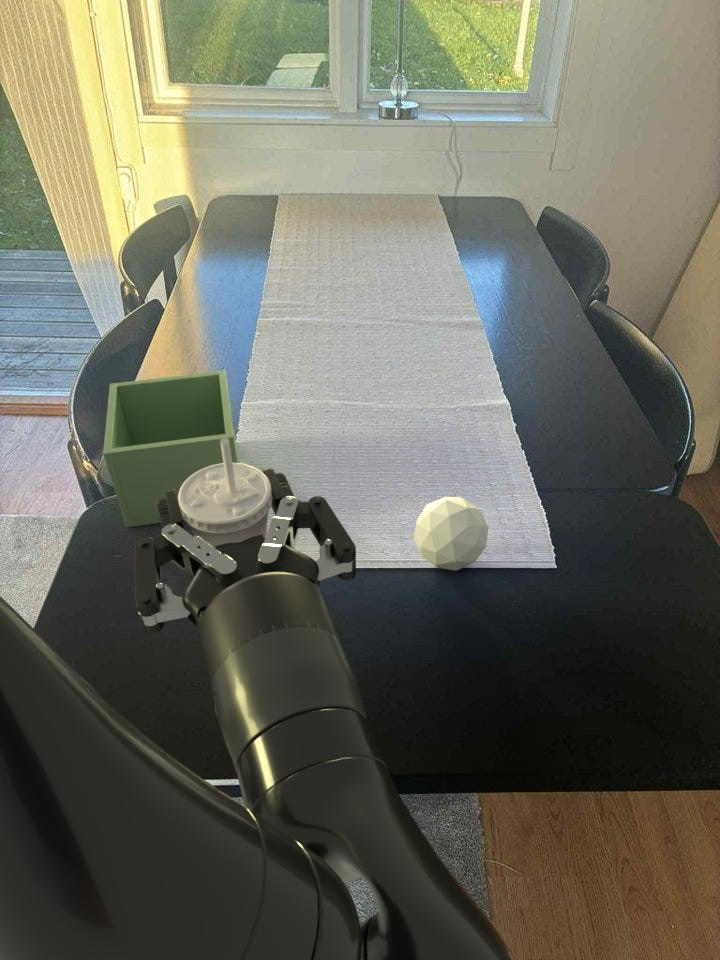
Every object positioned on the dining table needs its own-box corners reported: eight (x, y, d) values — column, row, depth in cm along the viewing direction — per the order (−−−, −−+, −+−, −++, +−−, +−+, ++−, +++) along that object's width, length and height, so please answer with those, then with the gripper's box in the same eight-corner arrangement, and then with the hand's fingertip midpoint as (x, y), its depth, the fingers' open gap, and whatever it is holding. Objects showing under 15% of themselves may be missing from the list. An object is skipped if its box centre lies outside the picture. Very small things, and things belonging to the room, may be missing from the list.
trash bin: (126, 528, 81) (102, 453, 73) (130, 455, 91) (110, 383, 83) (244, 510, 83) (233, 437, 75) (235, 441, 93) (225, 370, 85)
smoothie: (269, 623, 51) (250, 477, 42) (186, 611, 52) (149, 466, 43) (290, 559, 56) (277, 416, 47) (213, 550, 57) (185, 407, 48)
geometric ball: (463, 581, 78) (498, 571, 71) (397, 564, 76) (426, 553, 69) (471, 516, 80) (506, 500, 73) (407, 498, 78) (437, 480, 71)
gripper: (404, 597, 38) (313, 425, 50) (133, 675, 34) (104, 469, 46) (399, 676, 43) (317, 503, 55) (161, 752, 39) (129, 548, 51)
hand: (220, 488), depth 50 cm, fingers closed on smoothie, 6 cm apart
